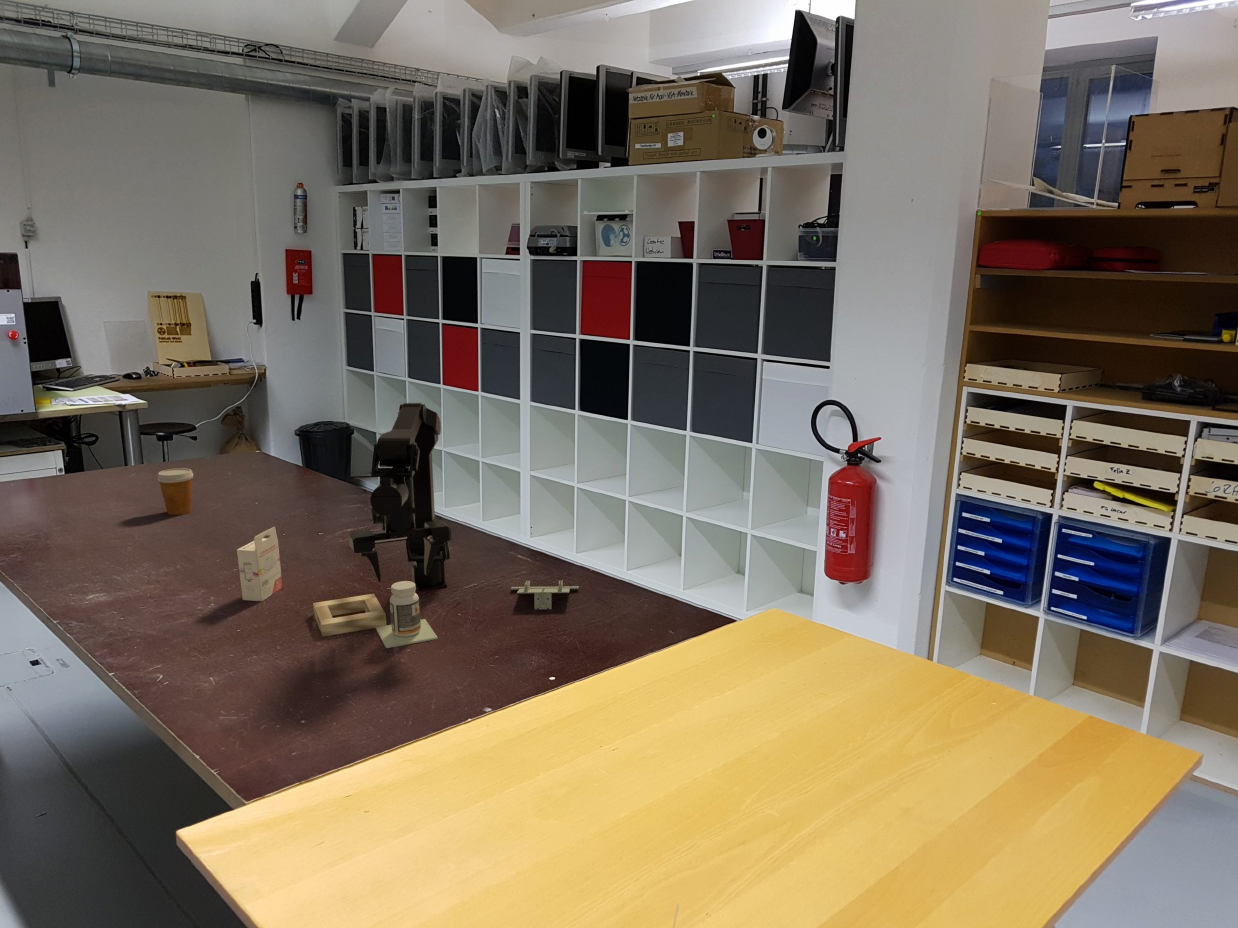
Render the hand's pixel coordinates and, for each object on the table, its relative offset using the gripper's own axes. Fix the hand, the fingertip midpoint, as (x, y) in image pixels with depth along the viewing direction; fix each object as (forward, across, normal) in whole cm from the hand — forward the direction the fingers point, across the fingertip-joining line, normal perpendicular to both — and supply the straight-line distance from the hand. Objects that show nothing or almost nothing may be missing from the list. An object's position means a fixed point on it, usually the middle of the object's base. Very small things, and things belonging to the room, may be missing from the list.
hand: (402, 578), depth 182 cm
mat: (+12, 0, 0) cm, 12 cm away
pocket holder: (+12, +9, -12) cm, 19 cm away
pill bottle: (+12, 0, 0) cm, 12 cm away
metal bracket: (+12, -32, -7) cm, 35 cm away
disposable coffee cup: (+12, +40, -113) cm, 121 cm away
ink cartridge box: (+12, +24, -35) cm, 44 cm away
